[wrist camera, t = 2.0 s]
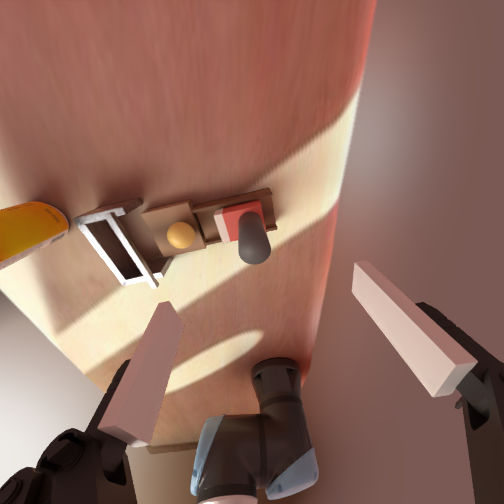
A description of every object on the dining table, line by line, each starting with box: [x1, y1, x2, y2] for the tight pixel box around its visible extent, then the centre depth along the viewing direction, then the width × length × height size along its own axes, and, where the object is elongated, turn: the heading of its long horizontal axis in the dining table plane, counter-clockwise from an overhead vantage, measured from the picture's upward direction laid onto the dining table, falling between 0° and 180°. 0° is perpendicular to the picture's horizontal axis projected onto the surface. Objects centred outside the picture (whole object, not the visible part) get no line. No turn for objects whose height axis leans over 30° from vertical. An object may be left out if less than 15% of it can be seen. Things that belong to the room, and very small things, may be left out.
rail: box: [192, 188, 277, 245], centre depth 29 cm, size 6×12×3 cm, turn 102°
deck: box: [140, 200, 207, 257], centre depth 30 cm, size 8×8×2 cm
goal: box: [73, 198, 172, 289], centre depth 28 cm, size 12×7×8 cm, turn 12°
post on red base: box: [214, 199, 271, 264], centre depth 24 cm, size 4×7×11 cm, turn 102°
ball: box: [167, 222, 195, 248], centre depth 28 cm, size 4×4×4 cm
